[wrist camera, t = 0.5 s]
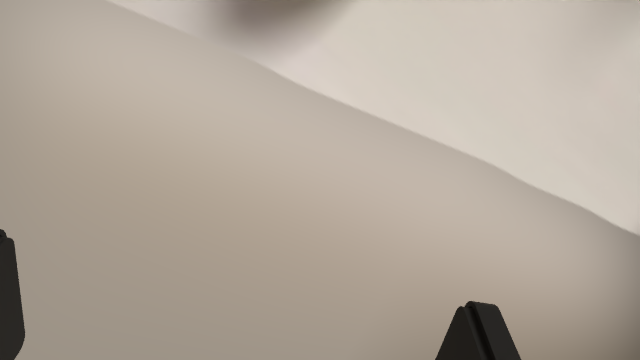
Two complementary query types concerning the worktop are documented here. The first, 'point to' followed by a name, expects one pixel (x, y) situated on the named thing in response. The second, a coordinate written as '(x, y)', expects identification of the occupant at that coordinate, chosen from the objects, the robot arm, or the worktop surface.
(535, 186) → the worktop surface
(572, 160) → the worktop surface
